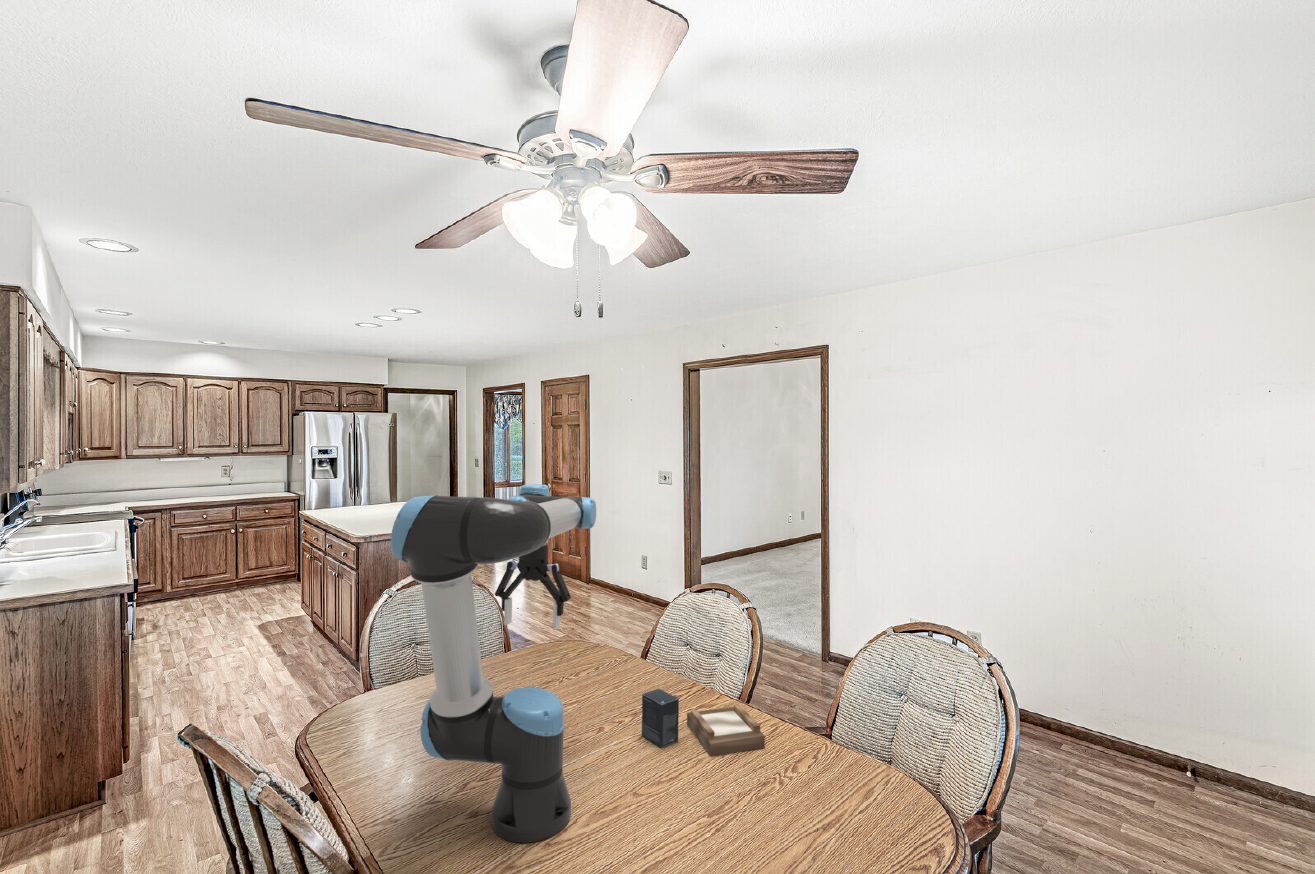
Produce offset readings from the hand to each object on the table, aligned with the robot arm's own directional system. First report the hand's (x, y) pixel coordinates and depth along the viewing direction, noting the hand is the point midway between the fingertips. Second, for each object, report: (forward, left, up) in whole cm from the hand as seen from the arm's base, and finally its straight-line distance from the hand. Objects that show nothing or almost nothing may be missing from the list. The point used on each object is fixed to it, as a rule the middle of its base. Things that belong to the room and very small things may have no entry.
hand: (531, 625), depth 152 cm
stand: (-20, -46, -25) cm, 56 cm away
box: (-17, -30, -25) cm, 43 cm away
